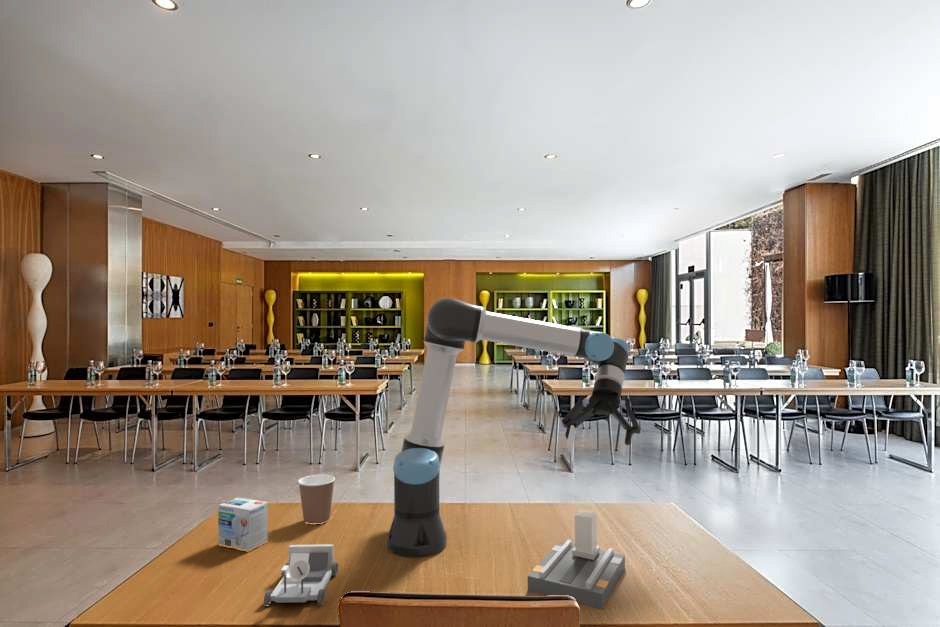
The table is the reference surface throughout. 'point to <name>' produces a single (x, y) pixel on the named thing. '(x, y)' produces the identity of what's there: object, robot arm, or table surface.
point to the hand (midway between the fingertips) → (594, 452)
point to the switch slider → (586, 535)
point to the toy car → (305, 574)
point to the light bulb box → (242, 523)
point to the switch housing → (577, 575)
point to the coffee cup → (316, 497)
